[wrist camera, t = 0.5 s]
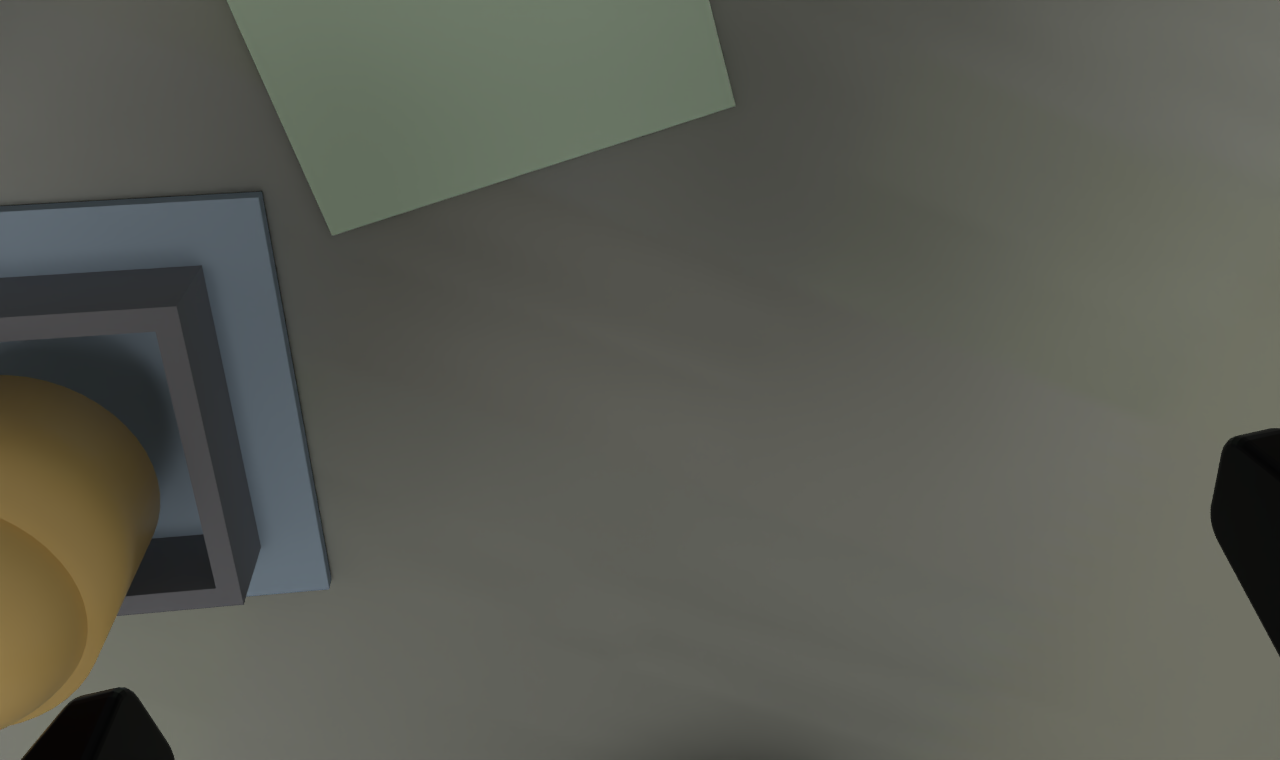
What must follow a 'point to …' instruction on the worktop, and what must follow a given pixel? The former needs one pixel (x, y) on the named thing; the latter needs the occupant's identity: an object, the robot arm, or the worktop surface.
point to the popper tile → (176, 379)
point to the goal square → (471, 88)
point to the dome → (64, 538)
